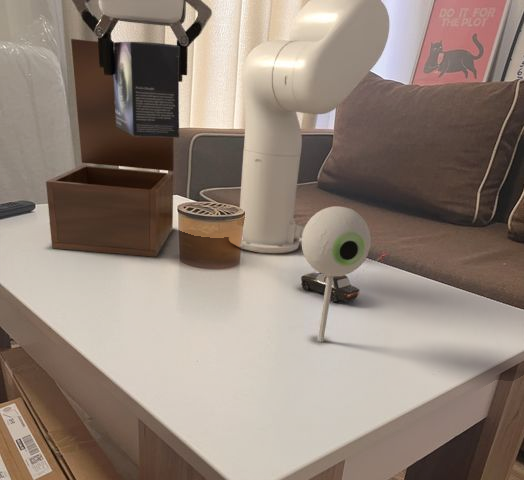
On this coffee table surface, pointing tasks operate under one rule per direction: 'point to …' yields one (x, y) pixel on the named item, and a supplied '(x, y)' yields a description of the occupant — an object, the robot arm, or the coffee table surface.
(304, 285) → the toy car
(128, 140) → the lid
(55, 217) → the chest
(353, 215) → the lollipop
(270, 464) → the coffee table surface
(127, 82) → the small box
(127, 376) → the coffee table surface
